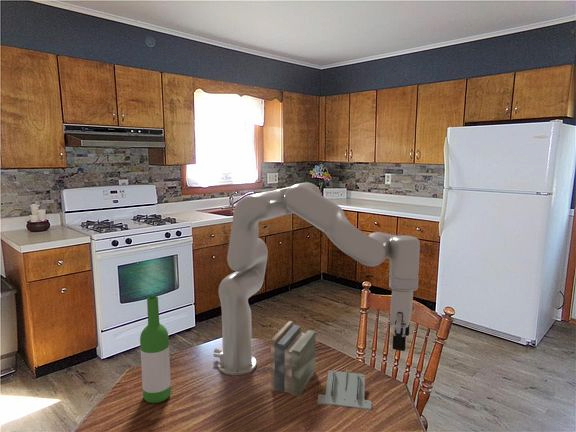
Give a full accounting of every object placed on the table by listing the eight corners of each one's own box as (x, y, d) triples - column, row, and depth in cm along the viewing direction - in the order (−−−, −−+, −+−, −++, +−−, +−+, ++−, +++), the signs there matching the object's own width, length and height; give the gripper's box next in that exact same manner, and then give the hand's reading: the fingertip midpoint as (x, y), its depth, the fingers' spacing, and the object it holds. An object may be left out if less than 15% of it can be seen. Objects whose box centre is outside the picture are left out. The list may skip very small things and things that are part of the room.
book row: (271, 389, 121) (270, 339, 118) (289, 366, 134) (289, 320, 131) (299, 396, 117) (299, 345, 115) (314, 372, 130) (315, 325, 128)
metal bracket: (322, 363, 125) (371, 368, 122) (322, 377, 128) (371, 382, 125) (316, 402, 112) (371, 408, 110) (317, 416, 115) (370, 423, 112)
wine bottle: (137, 398, 116) (131, 298, 111) (159, 385, 122) (155, 290, 118) (154, 408, 112) (149, 304, 107) (176, 394, 118) (172, 296, 113)
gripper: (393, 271, 118) (391, 327, 120) (384, 290, 102) (382, 353, 104) (420, 274, 115) (417, 331, 117) (415, 293, 99) (412, 359, 101)
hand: (401, 341), depth 111 cm, fingers open, 9 cm apart
